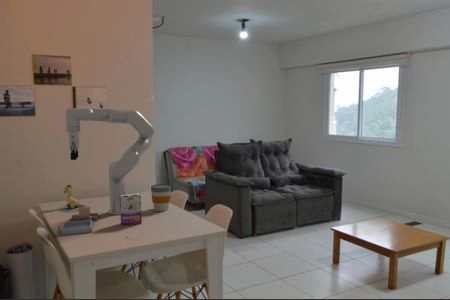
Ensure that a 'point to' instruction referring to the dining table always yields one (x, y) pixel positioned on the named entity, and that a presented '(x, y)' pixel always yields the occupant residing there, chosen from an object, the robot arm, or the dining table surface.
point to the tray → (76, 227)
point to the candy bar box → (130, 209)
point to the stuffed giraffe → (70, 201)
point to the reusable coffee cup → (161, 196)
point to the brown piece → (92, 217)
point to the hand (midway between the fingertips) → (74, 158)
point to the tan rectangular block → (84, 212)
